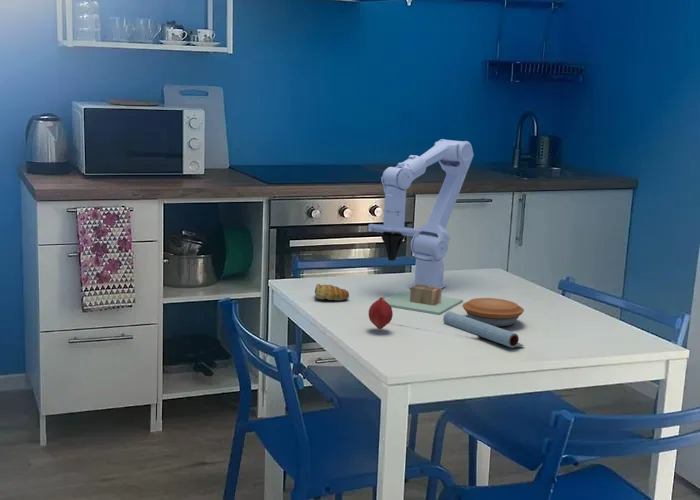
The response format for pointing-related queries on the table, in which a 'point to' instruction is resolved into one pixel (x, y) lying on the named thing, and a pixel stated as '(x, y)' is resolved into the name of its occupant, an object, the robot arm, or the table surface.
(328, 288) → the pastry
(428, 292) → the walnut block
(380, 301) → the onion
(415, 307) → the sage mat
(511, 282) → the table surface
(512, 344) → the aluminum foil
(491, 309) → the pie
